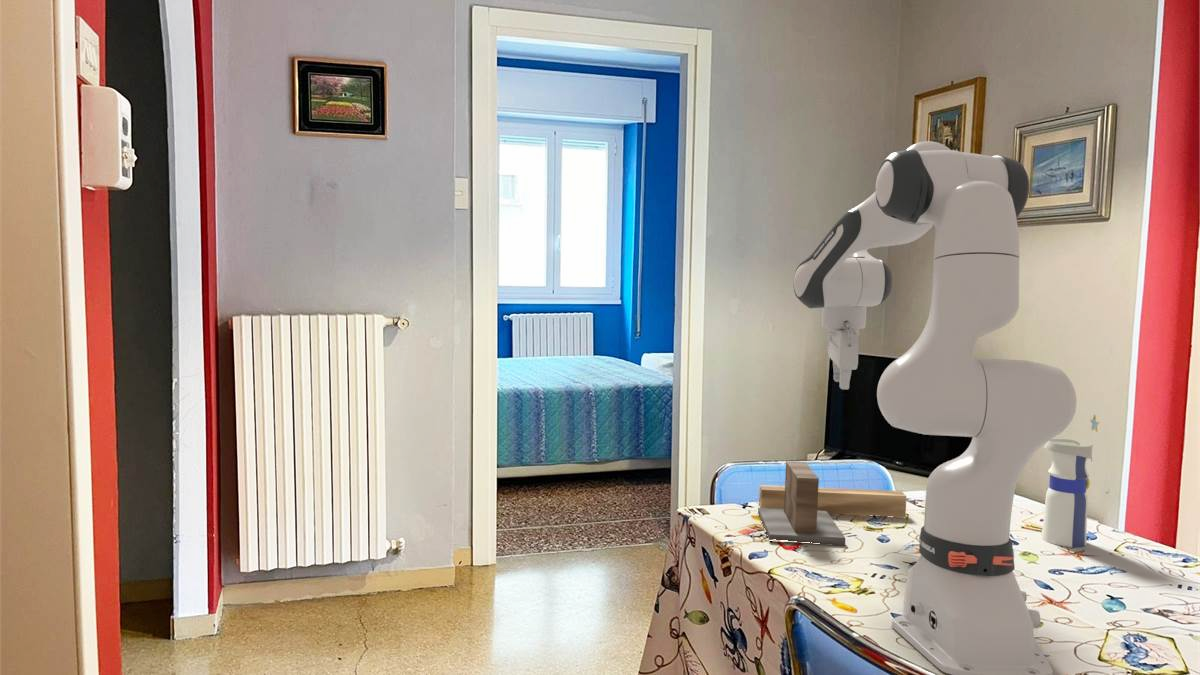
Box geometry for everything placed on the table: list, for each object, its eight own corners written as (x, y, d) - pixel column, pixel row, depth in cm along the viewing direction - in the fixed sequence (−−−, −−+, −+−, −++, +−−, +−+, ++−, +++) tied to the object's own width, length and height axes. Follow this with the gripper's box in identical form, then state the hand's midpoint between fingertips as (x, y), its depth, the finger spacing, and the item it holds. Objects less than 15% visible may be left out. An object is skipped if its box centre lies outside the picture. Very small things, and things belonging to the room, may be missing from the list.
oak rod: (905, 519, 176) (906, 495, 176) (760, 512, 178) (761, 489, 178) (899, 514, 180) (901, 491, 180) (758, 507, 182) (759, 484, 182)
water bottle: (1063, 532, 169) (1071, 409, 167) (1098, 545, 160) (1107, 416, 159) (1029, 534, 167) (1037, 410, 165) (1063, 548, 158) (1072, 417, 156)
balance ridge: (845, 545, 157) (848, 482, 156) (769, 542, 157) (771, 479, 157) (825, 518, 174) (828, 461, 174) (757, 514, 175) (760, 458, 174)
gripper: (867, 324, 163) (864, 394, 165) (852, 315, 184) (849, 378, 185) (834, 323, 164) (831, 393, 166) (822, 315, 185) (820, 377, 186)
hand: (841, 385), depth 176 cm, fingers open, 8 cm apart
